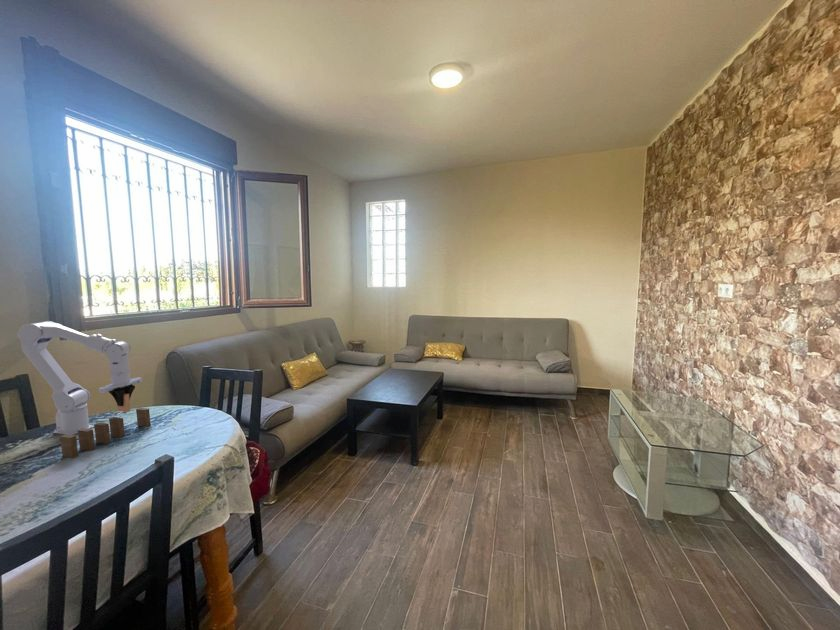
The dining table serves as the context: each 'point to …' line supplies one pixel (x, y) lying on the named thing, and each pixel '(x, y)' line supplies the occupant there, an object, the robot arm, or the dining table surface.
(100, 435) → the domino
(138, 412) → the domino
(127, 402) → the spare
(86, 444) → the domino
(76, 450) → the domino
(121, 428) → the domino
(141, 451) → the dining table surface
